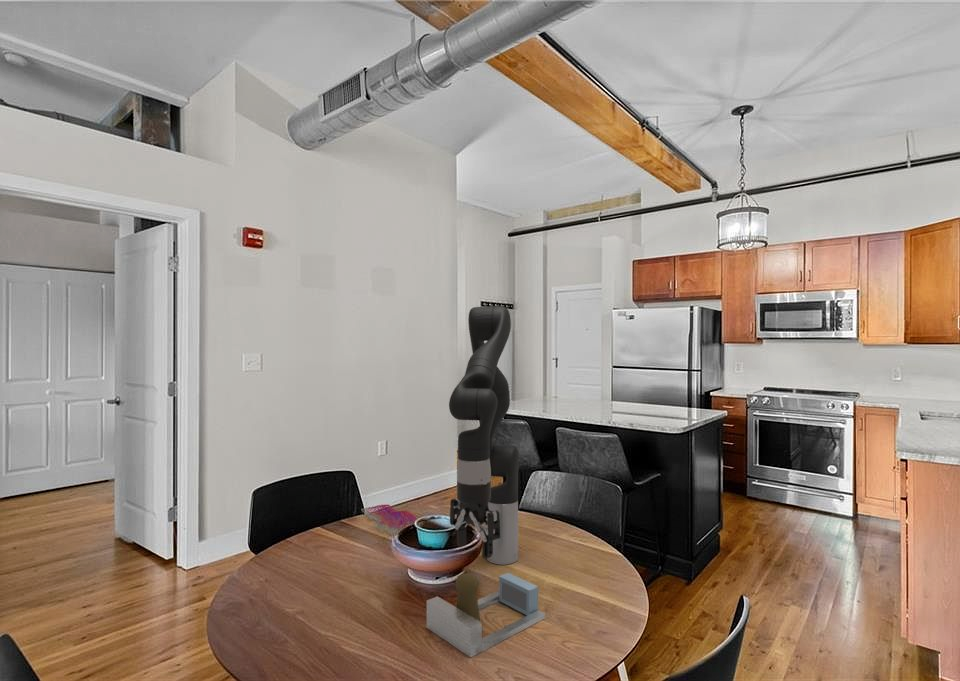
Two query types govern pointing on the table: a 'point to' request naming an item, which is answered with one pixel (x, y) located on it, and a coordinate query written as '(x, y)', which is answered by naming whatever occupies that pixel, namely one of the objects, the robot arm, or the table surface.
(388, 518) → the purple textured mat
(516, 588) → the free jaw
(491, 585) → the table surface
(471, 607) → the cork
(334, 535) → the table surface
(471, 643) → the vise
